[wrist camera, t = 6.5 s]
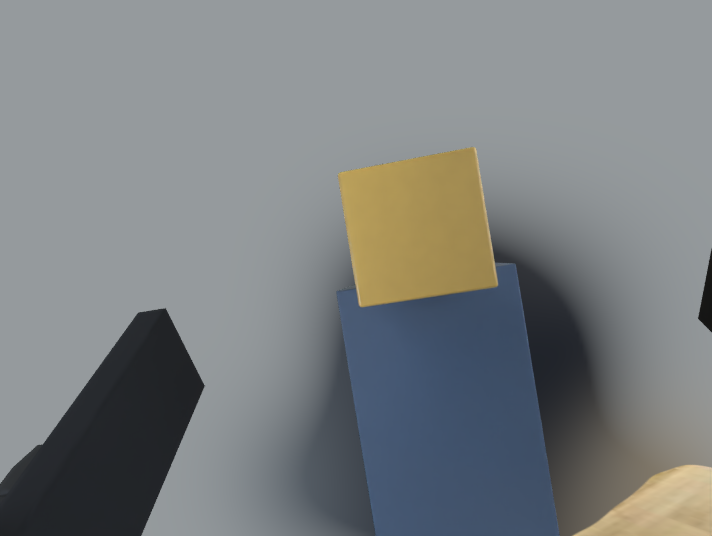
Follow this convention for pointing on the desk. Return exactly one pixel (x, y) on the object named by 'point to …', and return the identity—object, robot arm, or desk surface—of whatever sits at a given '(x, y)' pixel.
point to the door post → (449, 413)
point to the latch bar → (418, 228)
